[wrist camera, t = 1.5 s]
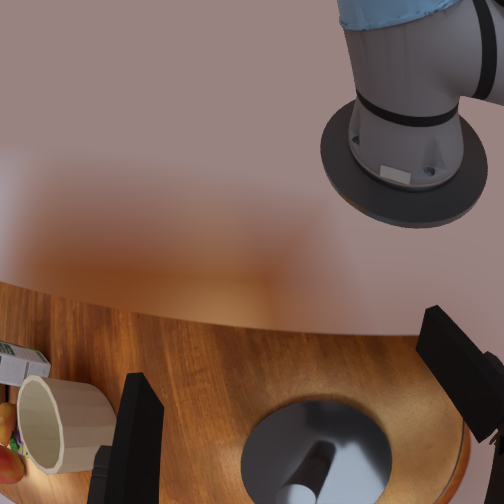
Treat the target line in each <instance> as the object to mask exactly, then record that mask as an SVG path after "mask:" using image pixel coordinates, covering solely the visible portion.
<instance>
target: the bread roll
mask: <svg viewBox="0 0 504 504" xmlns="http://www.w3.org/2000/svg"><path fill="white" fill-rule="evenodd" d="M2 403H6V395H5V384H2V383H0V405H1V404H2Z"/></svg>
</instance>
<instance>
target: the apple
mask: <svg viewBox="0 0 504 504" xmlns="http://www.w3.org/2000/svg"><path fill="white" fill-rule="evenodd" d="M24 472H25V470H24V465H23V463H22V461H21V460H20V458H19V457H18V456H17V455H16V453H14V452H13V451H12V450H11V449H9V448H7V447H5V446H2V445H0V483H1V484H14V483H17V482H19V481H20V480H21V479H22V478H23V476H24Z"/></svg>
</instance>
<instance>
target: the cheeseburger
mask: <svg viewBox="0 0 504 504" xmlns="http://www.w3.org/2000/svg"><path fill="white" fill-rule="evenodd" d="M9 441H10V446H12V450H13V451H15V452H17V451H18V453H19V454H20V455H24V456H26V457H27V458H30V457H29V455H28V453H27V451H26V449H25V447H24V444H23V442H22V439H21V435H20V430H19V426H18V416H17V406H16V404H15V403H14V404H12V403H8V402H7V403H2V404H1V405H0V443H1V444H3V445H4V446H5V447H7V446H8V444H9Z"/></svg>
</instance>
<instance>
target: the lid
mask: <svg viewBox="0 0 504 504" xmlns="http://www.w3.org/2000/svg"><path fill="white" fill-rule="evenodd" d="M391 469H392V455H391V449H390V445H389V442H388V440H387V438H386V435H385V433H384V432H383V430H382V429H381V427H380V426H379V425H378V424H377V423H376V422H375V421H374V420H373V419H372V418H371V417H370V416H368V415H367V414H366V413H364V412H363V411H361V410H359V409H357V408H355V407H353V406H351V405H348V404H344V403H341V402H336V401H331V400H309V401H303V402H298V403H295V404H291V405H288V406H286V407H284V408H281V409H279V410H277V411H275V412H274V413H272V414H270V415H269V416H268V417H266V418H265V419H264V420H263V421H262V422H261V423H259V424H258V425H257V427H256V428H255V429H254V430H253V431H252V433H251V434H250V436H249V438H248V439H247V441H246V444H245V446H244V449H243V452H242V457H241V475H242V480H243V483H244V486H245V489H246V491H247V493H248V494H249V496H250V498H251V499H252V501H253V502H254V503H255V504H374V503H375V502H376V501H377V500H378V498H379V497H380V496H381V494H382V493H383V491H384V489H385V487H386V486H387V483H388V480H389V478H390V474H391Z"/></svg>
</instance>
